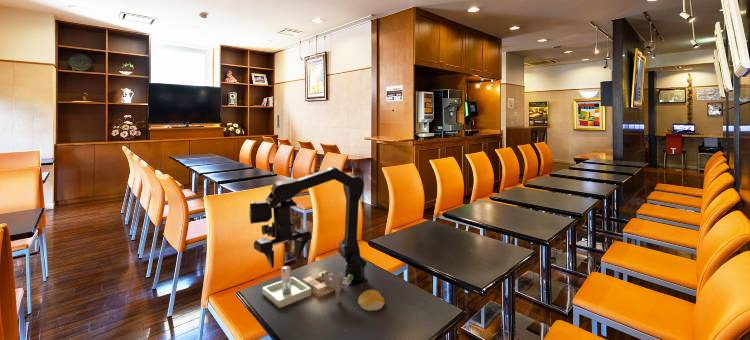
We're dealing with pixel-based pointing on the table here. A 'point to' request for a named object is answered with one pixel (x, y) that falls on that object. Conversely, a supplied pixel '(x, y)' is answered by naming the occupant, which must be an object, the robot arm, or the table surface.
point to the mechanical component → (336, 281)
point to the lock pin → (286, 280)
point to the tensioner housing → (318, 285)
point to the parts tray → (297, 293)
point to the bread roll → (371, 300)
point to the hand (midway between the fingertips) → (284, 263)
